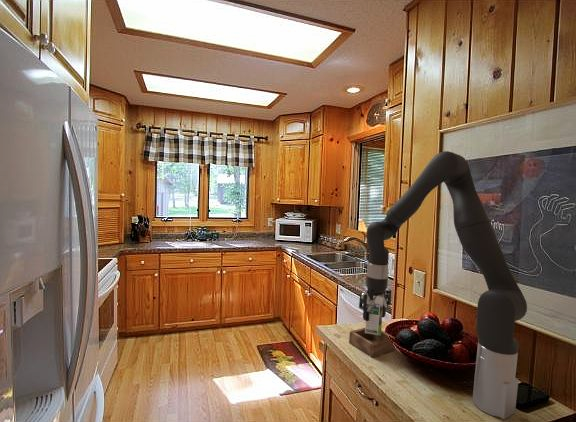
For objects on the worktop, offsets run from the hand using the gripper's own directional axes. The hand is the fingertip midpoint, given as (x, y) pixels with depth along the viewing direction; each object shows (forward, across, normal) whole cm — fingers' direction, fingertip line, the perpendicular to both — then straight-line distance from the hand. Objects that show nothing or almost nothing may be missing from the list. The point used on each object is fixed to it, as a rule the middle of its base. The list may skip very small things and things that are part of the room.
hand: (374, 318), depth 121 cm
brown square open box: (+11, 0, 0) cm, 11 cm away
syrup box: (+5, 0, 0) cm, 5 cm away
